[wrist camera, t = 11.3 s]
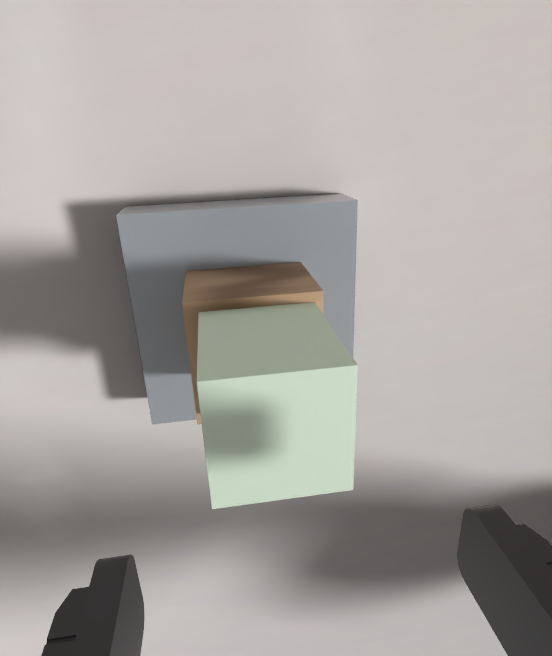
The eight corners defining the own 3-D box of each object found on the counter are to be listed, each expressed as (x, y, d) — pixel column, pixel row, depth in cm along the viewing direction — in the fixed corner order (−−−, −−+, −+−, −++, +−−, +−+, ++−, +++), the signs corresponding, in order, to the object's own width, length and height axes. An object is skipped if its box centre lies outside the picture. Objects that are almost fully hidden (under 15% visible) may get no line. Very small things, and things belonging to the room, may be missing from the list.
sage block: (315, 302, 20) (357, 364, 14) (315, 401, 22) (353, 490, 16) (198, 312, 19) (196, 381, 14) (209, 412, 21) (212, 509, 16)
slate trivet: (341, 193, 26) (357, 200, 23) (338, 377, 31) (351, 401, 28) (125, 206, 25) (116, 215, 22) (157, 397, 29) (152, 424, 27)
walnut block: (300, 261, 24) (323, 291, 20) (302, 362, 27) (323, 409, 22) (186, 270, 24) (182, 302, 19) (198, 373, 26) (197, 424, 21)
